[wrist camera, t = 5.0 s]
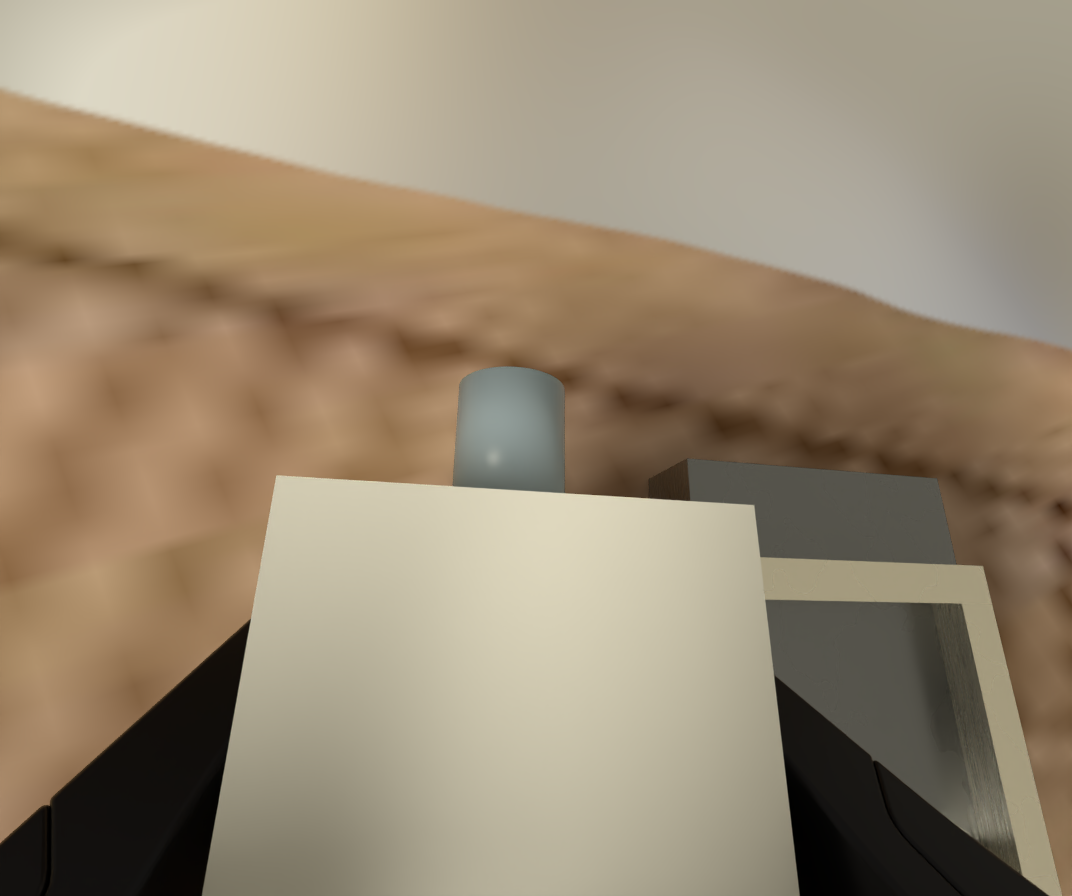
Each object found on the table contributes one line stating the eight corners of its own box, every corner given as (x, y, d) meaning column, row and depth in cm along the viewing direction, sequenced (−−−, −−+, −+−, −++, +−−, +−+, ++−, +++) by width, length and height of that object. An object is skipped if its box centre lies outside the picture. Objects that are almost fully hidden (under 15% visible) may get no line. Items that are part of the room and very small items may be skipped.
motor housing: (1003, 1229, 15) (1365, 1626, 9) (691, 1319, 13) (903, 1896, 7) (868, 494, 21) (1030, 456, 15) (648, 479, 19) (742, 429, 13)
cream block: (546, 753, 13) (823, 1101, 4) (353, 762, 12) (141, 1241, 3) (548, 499, 16) (735, 347, 6) (383, 490, 15) (309, 291, 5)
